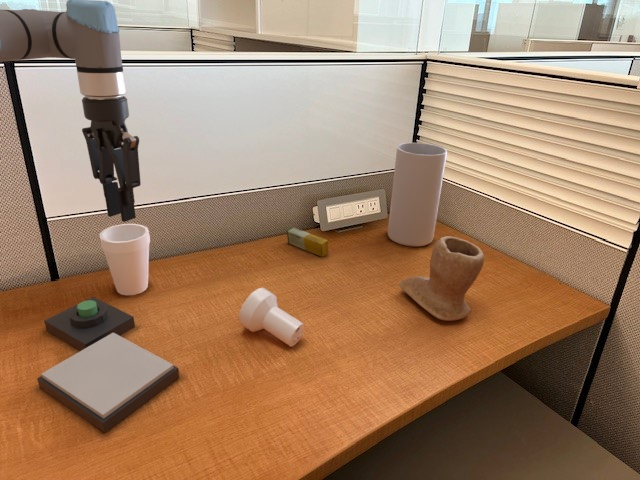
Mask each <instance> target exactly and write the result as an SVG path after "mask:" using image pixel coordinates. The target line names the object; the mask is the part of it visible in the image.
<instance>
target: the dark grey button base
mask: <svg viewBox="0 0 640 480" xmlns="http://www.w3.org/2000/svg"><path fill="white" fill-rule="evenodd" d="M87 300H92V301H95V302H96V304H97V309H98V312H97V314H95V315H93V316H90V317H80V316H79V314H78V309H77V305H78V304H79V303H77V304H74V305H73V306H71V307H68V308H67V309H65V310H62V311H61V312H59V313H57V314H54V315H52V316H51V317H49V318H46V319H44V326H45V329H46V332H47V333H49V334H51V335H53V336H54V337H55V338H58V339H60V340H61V341H63V342H64V343H66V344H68V345H70V346H71V347H73V348H75V349H76V350H78V351H79V352H80V351H82V350H83V349H85V348H87V347H89V346H90V345H92V344H94V343H96V342H97V341H99V340H101V339H103V338H104V337H106V336H108V335H110V334H111V333H115V334H117V335H119V336H121V337H122V335H124V334H126V333H127V332H129V331H131V330H133V329H134V328H136V325H135V318H134V316H133V315H131V314H129V313H127V312H125V311H123V310H121V309H119V308H117V307H115V306H113V305H111V304H109V303H107V302H105V301H103V300H101V299H99V298H97V297H94V296H92V297H89V298H88V299H86V300H84V301H87Z"/></svg>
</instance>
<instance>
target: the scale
mask: <svg viewBox="0 0 640 480" xmlns="http://www.w3.org/2000/svg"><path fill="white" fill-rule="evenodd" d="M179 378H180V371H179V367H178V366H176V365H174V364H173V363H171V362H170V361H168V360H166V359H164V358H163V357H160V356H158V355H157V354H155V353H153V352H151V351H149V350H147V349H145V348H144V347H142V346H139V345H138V344H136V343H134V342H132V341H130V340H128V339H126V338H125V337H123V336H122V335H121V336H119V335H117V334H115V333H111V334H110V335H108V336H106V337H104V338H103V339H101V340H99V341H97V342H96V343H94V344H92V345H90V346H89V347H87V348H85V349H83V350H82V351H80V350H79V351H78V352H76V353H75V354H72V355H71V356H69V357H68V358H65V359H64V360H62V361H61V362H59V363H57V364H55V365H54V366H52V367H50V368H49V369H47V370H45V371H43V372H41V373H40V376H39V377H37V378H36V380H37V383H38V387H39V389H41V390H42V391H43V392H44V393H46V394H47V395H49V396H50V397H52V398H53V399H55V400H56V401H58V402H59V403H61V404H62V405H63V406H65V407H66V408H68V409H69V410H71V411H72V412H74V413H75V414H77V415H78V416H79V417H80V418H82V419H84V420H85V421H87V422H88V423H90V424H91V425H93V426H94V427H95V428H97V429H98V430H100V431H101V432H103V433H104V434H106V433H107V432H109V431H110V430H111V429H112V428H114V427H115V426H117V425H118V424H119V423H120V422H122V421H123V420H124V419H126V418H127V417H128V416H130V415H131V414H133V413H134V412H135V411H136V410H138V409H140V407H142V406H144V405H145V404H146V403H147V402H148V401H150V400H151V399H153V398H154V397H155V396H157V395H158V394H159V393H160V392H162V391H163V390H164V389H166V388H167V387H168V386H170V385H171V384H172V383H174V382H176V381H177V380H178V379H179Z"/></svg>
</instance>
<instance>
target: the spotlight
mask: <svg viewBox="0 0 640 480" xmlns="http://www.w3.org/2000/svg"><path fill="white" fill-rule="evenodd" d="M237 320H238V323H239V324H240V325H241V326H243V327H244V328H246V329H247V330H248V331H250V332H252V333H255V332H258V331H262V330H265V331H266V332H267V333H269V334H271V335H272V336H274V337H275V338H277V339H278V340H279V341H281V342H283V343H284V344H286V345H287V346H288V347H294V346H295V345H296V344H297V343H298V342H299V341H300V340H301V338H302V336H303V334H304V332H305V329H306V324H305V323H303V322H302V321H301V320H299V319H297V318H295V317H294V316H292V315H291V314H289V313H288V312H286V311H285V310H283V309H281V308H279V302H278V296H277V295H276V294H274V293H272V292H271V291H269V290H268V289H267V288H265V287H260V288H257V289H255V290H254V291H252V292H251V293H250V294H249V295H248V297H247V298H246V300H244V302H243V304H242V306H241V307H240V310H239V313H238V319H237Z"/></svg>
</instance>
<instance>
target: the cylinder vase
mask: <svg viewBox="0 0 640 480" xmlns="http://www.w3.org/2000/svg"><path fill="white" fill-rule="evenodd" d="M447 154H448V150H447V149H446V148H445V147H442V146H439V145H438V144H437V145H436V144H431V143H424V142H404V143H400V144H398V145H397V146H396V156H395V162H394V171H393V180H392V190H391V198H390V208H389V216H388V226H387V236H388V238H389V239H390V240H391V241H392V242H394V243H396V244H399V245H401V246H405V247H414V248H415V247H416V248H417V247H424V246H427V245H430V244H431V243H432V242H433V240H434V237H435V231H436V225H437V224H436V223H437V219H438V218H437V217H438V213H439V211H438V210H439V205H440V201H441V200H440V199H441V193H442V186H443V180H444V174H445V168H446V160H447Z"/></svg>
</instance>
